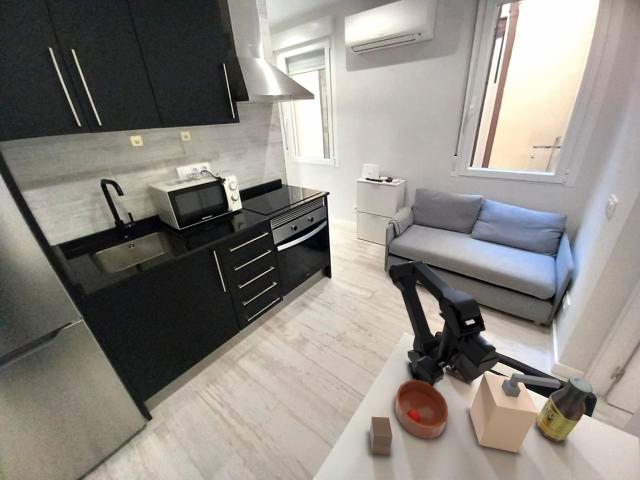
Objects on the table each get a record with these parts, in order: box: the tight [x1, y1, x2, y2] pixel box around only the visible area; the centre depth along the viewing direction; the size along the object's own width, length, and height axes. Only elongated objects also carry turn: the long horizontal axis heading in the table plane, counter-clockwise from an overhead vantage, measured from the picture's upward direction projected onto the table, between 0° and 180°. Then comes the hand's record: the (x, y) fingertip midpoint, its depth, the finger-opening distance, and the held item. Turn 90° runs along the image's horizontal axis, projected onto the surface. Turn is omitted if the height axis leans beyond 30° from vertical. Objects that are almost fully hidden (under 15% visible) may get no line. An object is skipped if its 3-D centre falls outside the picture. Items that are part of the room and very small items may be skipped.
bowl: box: [394, 379, 449, 440], centre depth 72 cm, size 13×13×5 cm
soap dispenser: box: [469, 372, 562, 453], centre depth 64 cm, size 13×9×22 cm
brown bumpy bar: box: [444, 366, 474, 384], centre depth 83 cm, size 8×2×2 cm
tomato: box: [407, 409, 420, 423], centre depth 70 cm, size 3×3×3 cm
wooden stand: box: [369, 416, 393, 456], centre depth 65 cm, size 4×4×8 cm
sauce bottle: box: [535, 375, 594, 443], centre depth 64 cm, size 7×6×20 cm
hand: (442, 378), depth 74 cm, fingers open, 9 cm apart
